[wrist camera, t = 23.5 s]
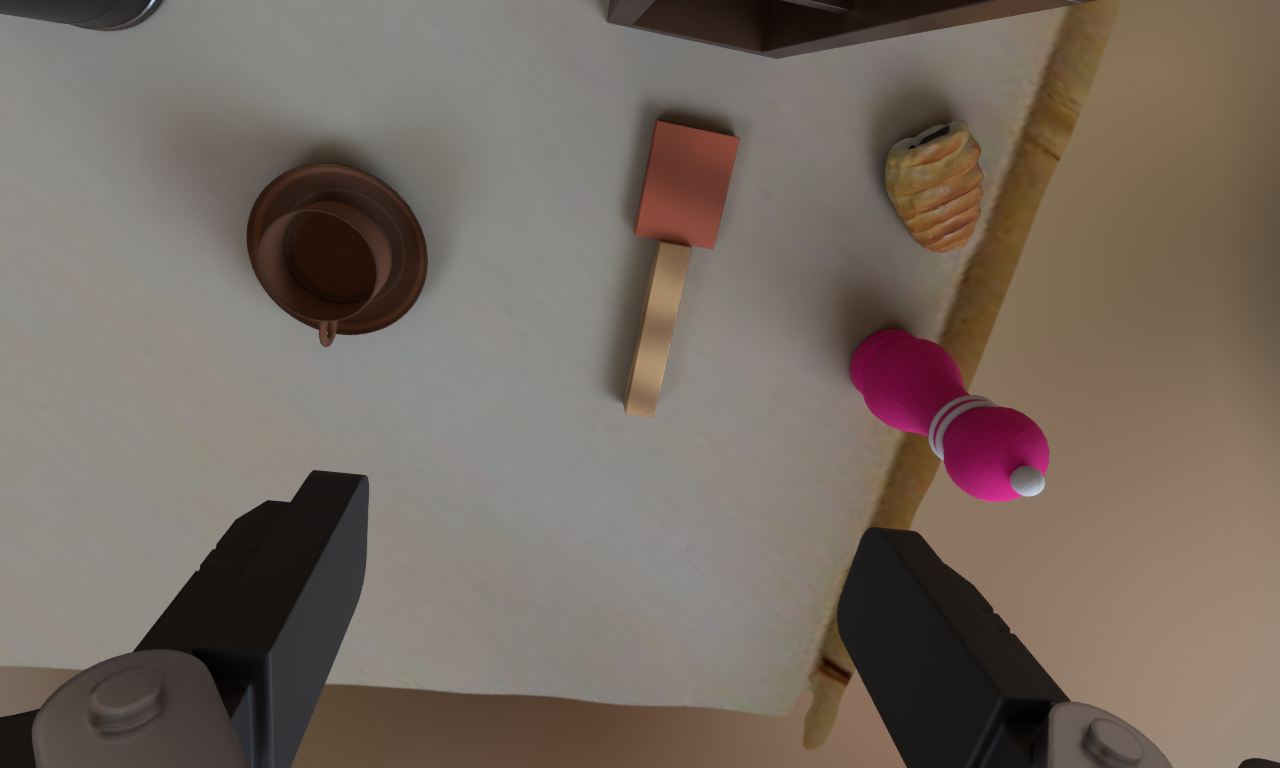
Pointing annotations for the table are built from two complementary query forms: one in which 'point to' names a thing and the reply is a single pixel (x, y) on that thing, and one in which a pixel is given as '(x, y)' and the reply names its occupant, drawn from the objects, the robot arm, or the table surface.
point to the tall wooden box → (808, 20)
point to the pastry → (937, 185)
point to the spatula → (674, 239)
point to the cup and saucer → (337, 249)
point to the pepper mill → (950, 416)
